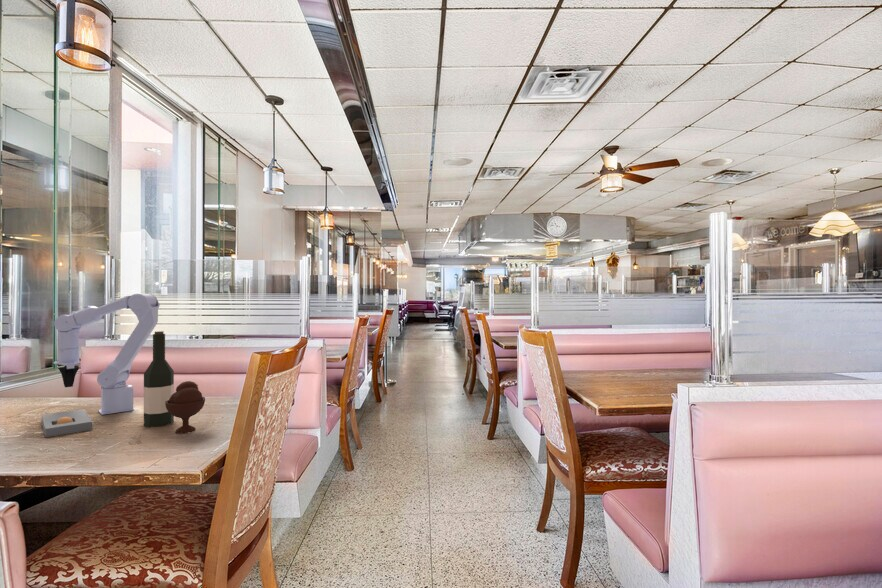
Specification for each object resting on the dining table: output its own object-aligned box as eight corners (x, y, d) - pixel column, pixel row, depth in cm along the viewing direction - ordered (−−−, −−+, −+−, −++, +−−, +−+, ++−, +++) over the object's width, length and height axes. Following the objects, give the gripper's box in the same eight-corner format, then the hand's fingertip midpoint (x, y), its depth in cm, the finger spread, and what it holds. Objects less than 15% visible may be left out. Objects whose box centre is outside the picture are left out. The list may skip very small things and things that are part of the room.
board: (84, 416, 156) (84, 409, 156) (92, 429, 140) (92, 421, 140) (41, 422, 148) (41, 414, 148) (45, 437, 132) (45, 428, 132)
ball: (71, 432, 141) (70, 420, 143) (75, 424, 140) (74, 413, 142) (54, 433, 138) (54, 422, 140) (59, 426, 137) (58, 414, 139)
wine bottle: (145, 429, 140) (145, 332, 141) (142, 423, 147) (142, 331, 147) (175, 424, 146) (176, 331, 146) (171, 418, 152) (171, 330, 152)
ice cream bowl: (159, 431, 138) (159, 382, 138) (198, 423, 146) (198, 377, 146) (170, 438, 131) (170, 387, 131) (211, 430, 139) (211, 381, 139)
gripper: (52, 347, 163) (52, 385, 163) (55, 351, 152) (55, 391, 152) (77, 346, 167) (77, 382, 167) (81, 349, 157) (81, 388, 157)
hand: (68, 386), depth 160 cm, fingers closed
